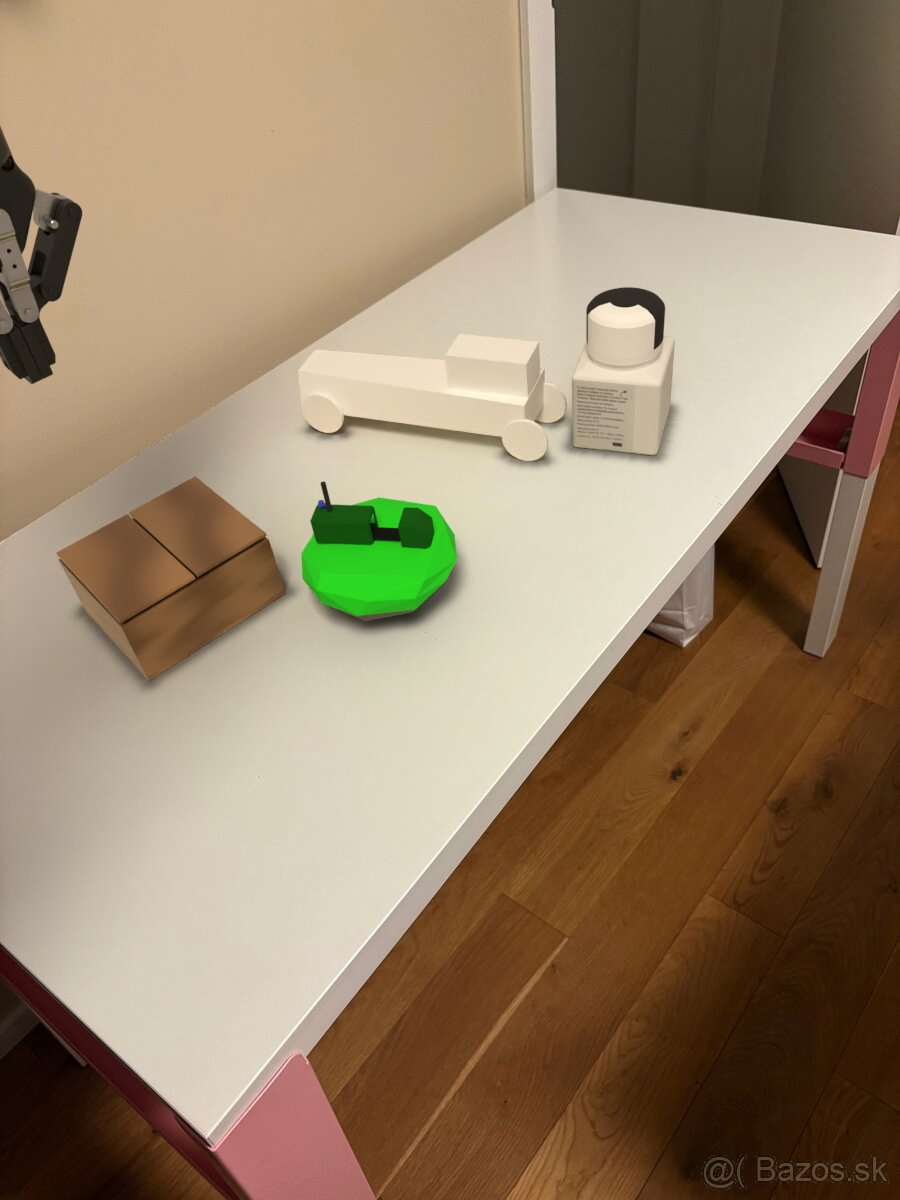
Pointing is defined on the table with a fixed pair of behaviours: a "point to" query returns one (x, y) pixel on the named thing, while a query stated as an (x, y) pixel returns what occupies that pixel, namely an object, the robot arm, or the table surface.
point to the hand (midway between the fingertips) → (37, 375)
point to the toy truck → (439, 391)
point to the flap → (125, 567)
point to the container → (623, 374)
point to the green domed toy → (377, 556)
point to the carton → (205, 605)
